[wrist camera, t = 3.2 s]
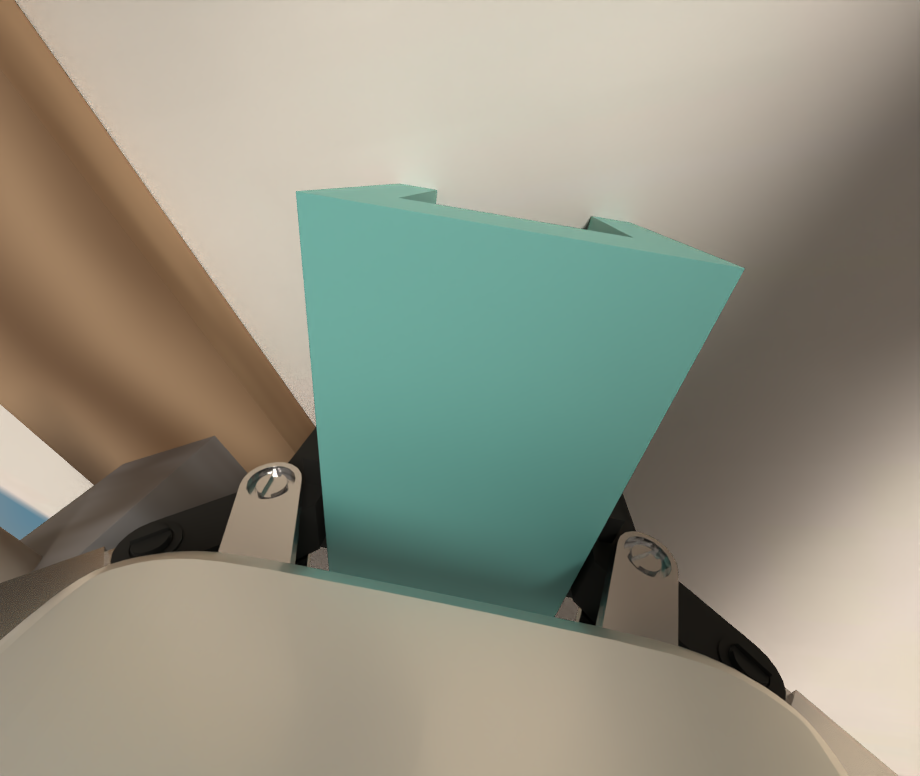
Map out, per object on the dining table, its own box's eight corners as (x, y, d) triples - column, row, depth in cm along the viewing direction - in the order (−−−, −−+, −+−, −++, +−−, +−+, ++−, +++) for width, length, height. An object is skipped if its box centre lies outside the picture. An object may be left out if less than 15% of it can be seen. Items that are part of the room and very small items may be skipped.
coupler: (630, 223, 9) (744, 268, 5) (511, 554, 16) (511, 695, 12) (399, 183, 9) (295, 191, 5) (383, 528, 17) (336, 657, 12)
